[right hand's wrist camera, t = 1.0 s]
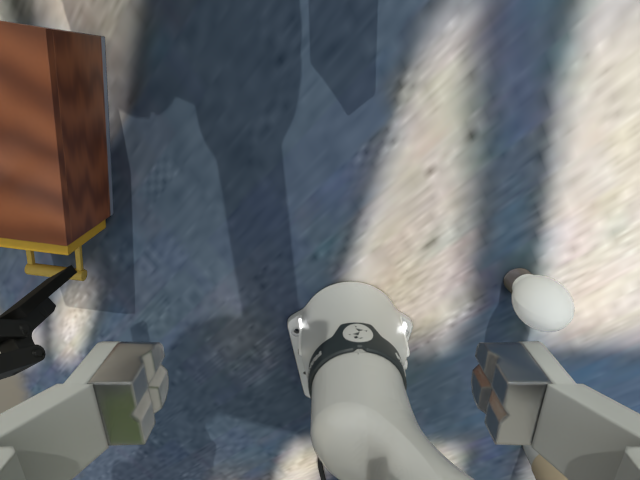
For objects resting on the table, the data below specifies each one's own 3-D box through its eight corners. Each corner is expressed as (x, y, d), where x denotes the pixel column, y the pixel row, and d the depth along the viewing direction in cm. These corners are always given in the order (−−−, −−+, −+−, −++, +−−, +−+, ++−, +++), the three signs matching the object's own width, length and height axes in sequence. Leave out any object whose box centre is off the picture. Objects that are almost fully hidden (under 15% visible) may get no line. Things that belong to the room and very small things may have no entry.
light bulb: (489, 296, 61) (523, 342, 51) (502, 255, 58) (540, 294, 48) (534, 301, 61) (577, 347, 51) (548, 259, 58) (596, 299, 48)
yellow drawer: (108, 266, 58) (72, 300, 50) (41, 258, 57) (-6, 290, 49) (96, 64, 48) (49, 63, 40) (15, 52, 47) (-50, 48, 39)
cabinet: (113, 213, 56) (67, 246, 46) (35, 203, 55) (-30, 234, 45) (104, 36, 48) (45, 27, 37) (12, 22, 47) (-74, 9, 37)
